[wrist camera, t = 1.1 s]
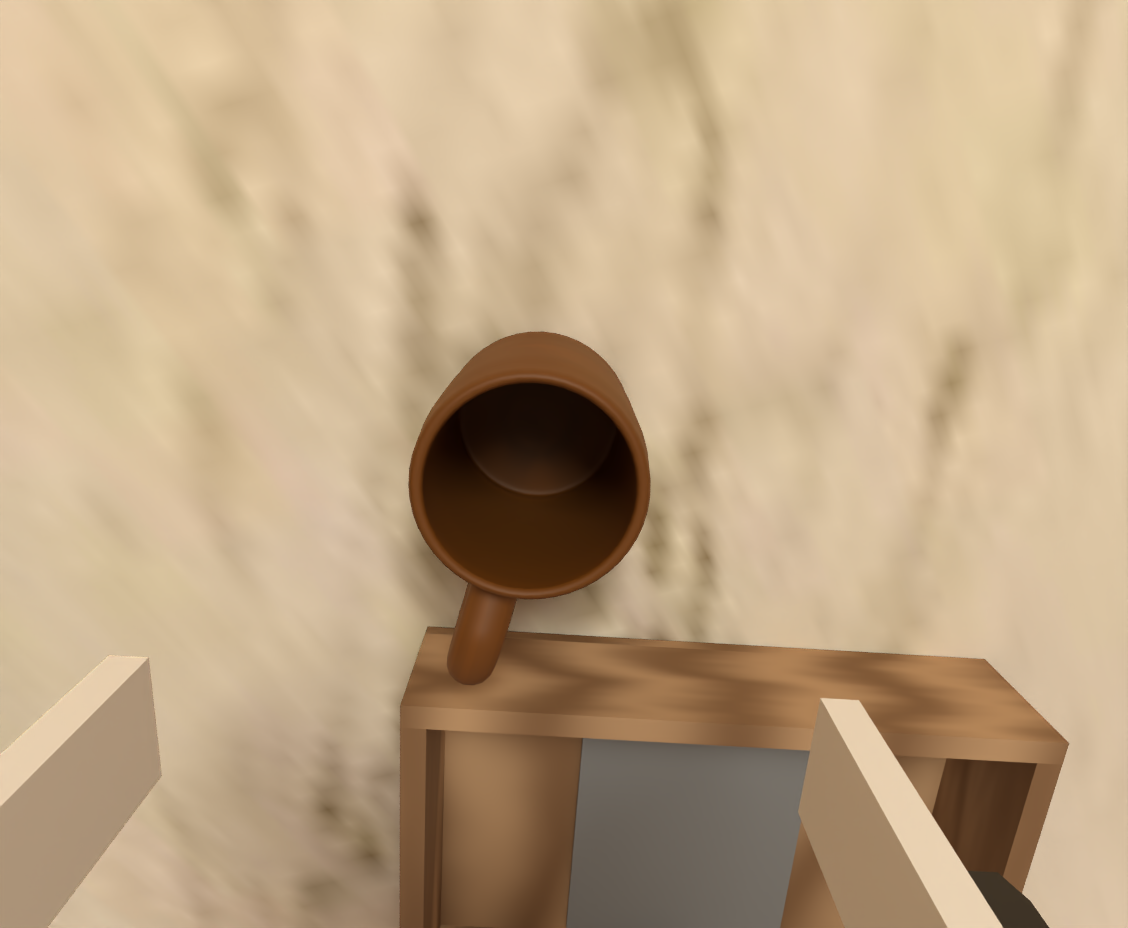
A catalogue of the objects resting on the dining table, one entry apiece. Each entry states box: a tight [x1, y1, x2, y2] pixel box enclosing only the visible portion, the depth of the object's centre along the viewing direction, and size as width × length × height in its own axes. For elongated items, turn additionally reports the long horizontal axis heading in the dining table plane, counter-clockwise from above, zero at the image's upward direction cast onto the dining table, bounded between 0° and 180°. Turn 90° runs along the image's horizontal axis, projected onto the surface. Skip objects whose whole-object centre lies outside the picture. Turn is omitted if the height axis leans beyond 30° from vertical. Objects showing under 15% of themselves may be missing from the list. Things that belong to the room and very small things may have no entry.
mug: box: [409, 332, 650, 685], centre depth 27 cm, size 12×8×9 cm, turn 162°
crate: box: [400, 627, 1069, 928], centre depth 34 cm, size 26×18×6 cm
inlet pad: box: [566, 738, 810, 928], centre depth 36 cm, size 11×15×1 cm
